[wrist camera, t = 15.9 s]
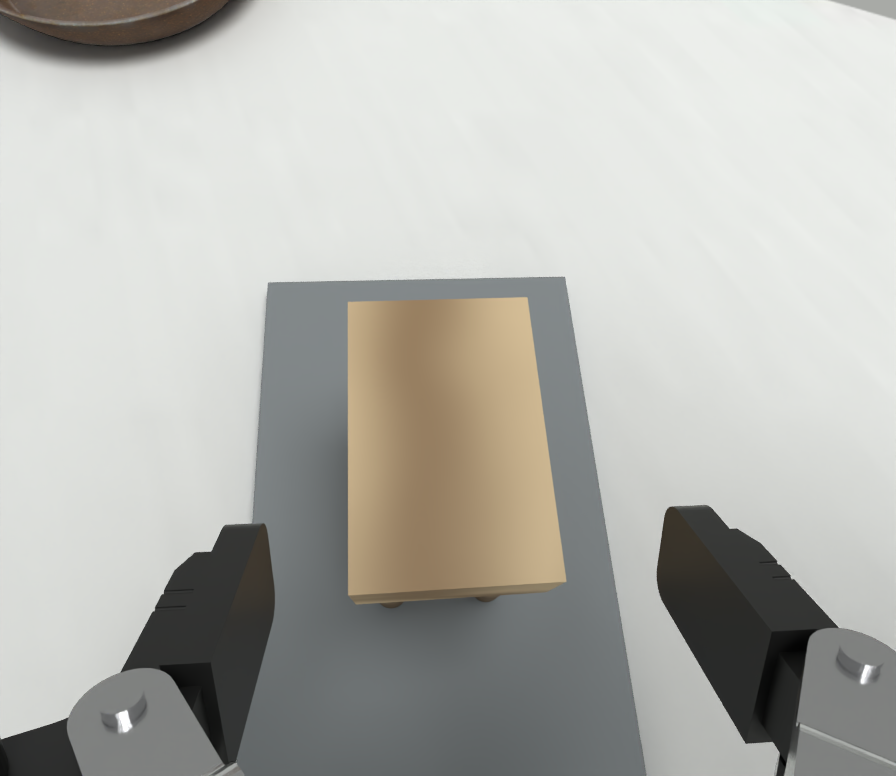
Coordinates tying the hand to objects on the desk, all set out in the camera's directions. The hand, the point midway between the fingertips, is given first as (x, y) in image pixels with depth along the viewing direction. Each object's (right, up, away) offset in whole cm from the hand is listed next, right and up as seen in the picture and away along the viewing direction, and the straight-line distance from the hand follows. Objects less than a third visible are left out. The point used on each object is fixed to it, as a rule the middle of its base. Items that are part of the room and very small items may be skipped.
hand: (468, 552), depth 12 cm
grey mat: (-1, -2, +13) cm, 14 cm away
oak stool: (-1, -2, +12) cm, 13 cm away
